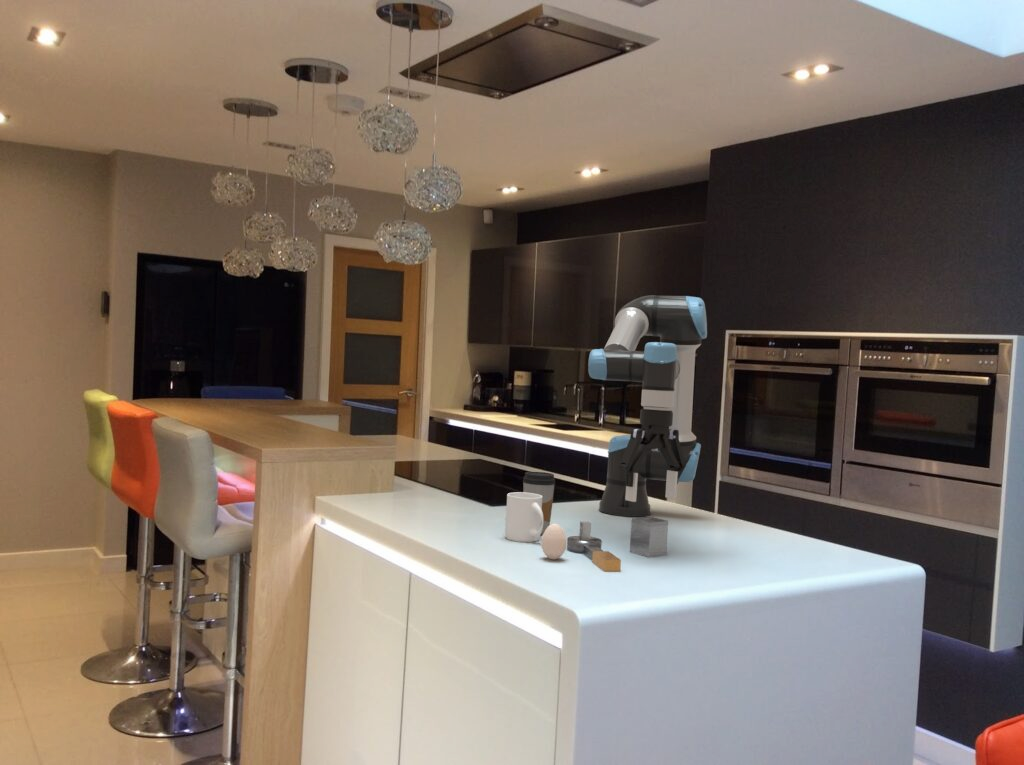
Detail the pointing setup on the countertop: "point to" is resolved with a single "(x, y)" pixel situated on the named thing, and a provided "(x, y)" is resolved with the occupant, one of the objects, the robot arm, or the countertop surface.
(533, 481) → the coffee cup
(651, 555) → the grey rectangular block
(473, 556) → the countertop surface
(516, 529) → the mug
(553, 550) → the egg
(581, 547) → the ratchet
